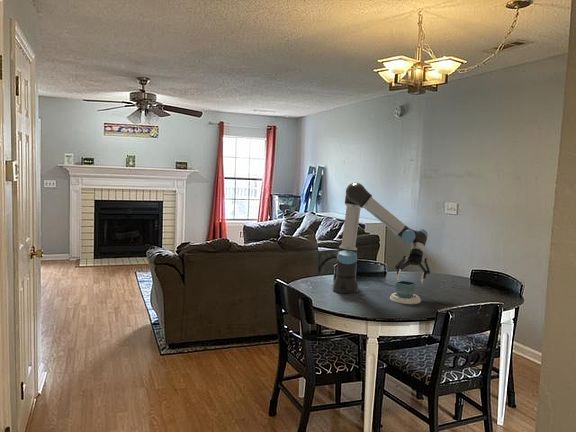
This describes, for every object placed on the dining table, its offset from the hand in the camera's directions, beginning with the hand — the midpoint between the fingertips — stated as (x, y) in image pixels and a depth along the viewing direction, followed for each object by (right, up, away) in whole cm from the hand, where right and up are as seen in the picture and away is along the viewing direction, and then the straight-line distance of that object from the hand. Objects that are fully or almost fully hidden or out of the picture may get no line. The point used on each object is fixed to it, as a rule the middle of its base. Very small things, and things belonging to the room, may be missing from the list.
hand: (409, 280), depth 284 cm
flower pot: (-4, -9, -5) cm, 11 cm away
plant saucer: (-4, -10, -5) cm, 12 cm away
